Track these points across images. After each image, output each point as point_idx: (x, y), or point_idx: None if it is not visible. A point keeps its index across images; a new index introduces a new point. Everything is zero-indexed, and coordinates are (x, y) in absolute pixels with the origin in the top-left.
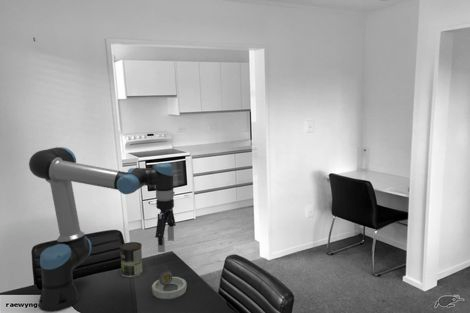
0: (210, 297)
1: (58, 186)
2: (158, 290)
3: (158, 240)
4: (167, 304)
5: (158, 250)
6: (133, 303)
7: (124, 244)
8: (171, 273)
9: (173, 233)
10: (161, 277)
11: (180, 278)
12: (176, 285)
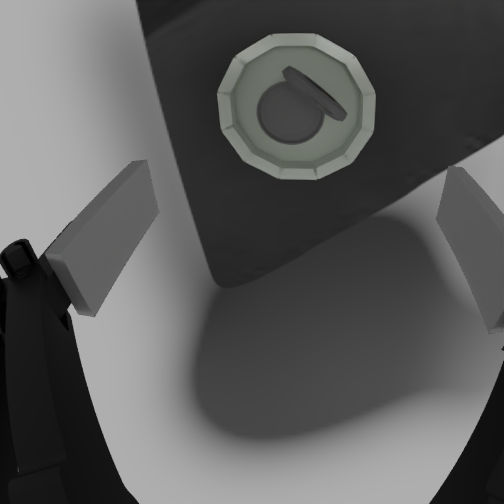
0: (267, 252)
1: None
2: (232, 80)
3: (45, 251)
4: (193, 129)
5: (126, 171)
6: (171, 6)
7: None
8: (337, 120)
9: (465, 268)
10: (286, 80)
11: (359, 145)
12: (314, 133)
